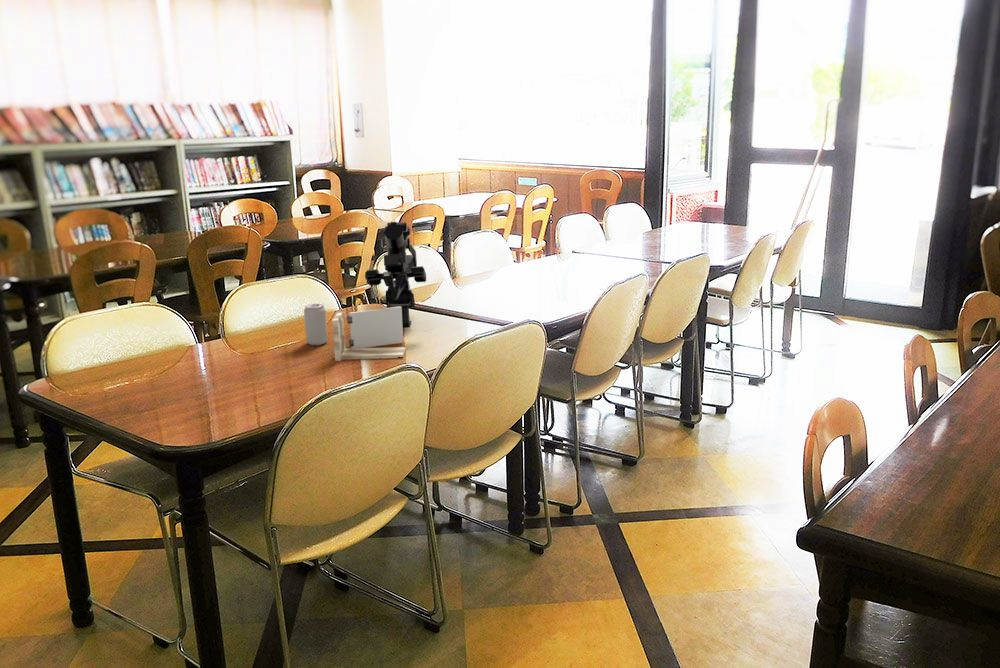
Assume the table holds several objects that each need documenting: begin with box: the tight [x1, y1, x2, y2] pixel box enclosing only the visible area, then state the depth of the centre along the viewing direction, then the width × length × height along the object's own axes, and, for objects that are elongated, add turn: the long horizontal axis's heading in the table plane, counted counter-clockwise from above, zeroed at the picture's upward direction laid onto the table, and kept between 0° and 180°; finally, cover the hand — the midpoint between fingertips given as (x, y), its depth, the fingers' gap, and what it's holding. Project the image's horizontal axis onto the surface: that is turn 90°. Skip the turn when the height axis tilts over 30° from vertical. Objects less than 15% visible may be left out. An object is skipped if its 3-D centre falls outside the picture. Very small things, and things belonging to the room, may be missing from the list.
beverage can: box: [303, 303, 329, 346], centre depth 246 cm, size 6×6×12 cm
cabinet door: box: [346, 306, 404, 348], centre depth 240 cm, size 2×17×11 cm, turn 117°
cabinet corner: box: [331, 311, 406, 362], centre depth 232 cm, size 10×19×12 cm, turn 92°
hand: (395, 299), depth 251 cm, fingers closed
